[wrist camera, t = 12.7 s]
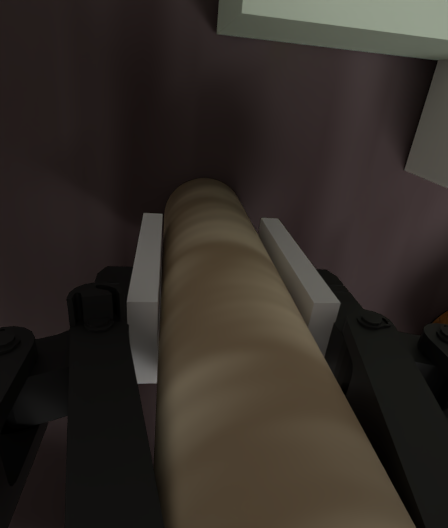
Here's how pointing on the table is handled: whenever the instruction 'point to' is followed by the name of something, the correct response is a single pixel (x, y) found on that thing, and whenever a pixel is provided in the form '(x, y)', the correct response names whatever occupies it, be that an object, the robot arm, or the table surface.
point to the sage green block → (343, 24)
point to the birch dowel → (250, 389)
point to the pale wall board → (432, 132)
